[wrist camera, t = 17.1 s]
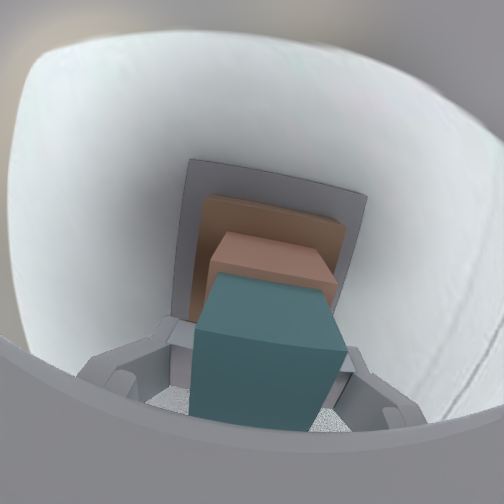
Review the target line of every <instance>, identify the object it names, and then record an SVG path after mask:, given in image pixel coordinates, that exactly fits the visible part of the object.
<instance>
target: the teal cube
mask: <svg viewBox="0 0 504 504" xmlns="http://www.w3.org/2000/svg"><path fill="white" fill-rule="evenodd" d="M347 353H348V349H347V347H346V345H345V342H344V340H343V338H342V335H341V333H340V331H339V328H338V326H337V324H336V322H335V319H334V317H333V315H332V312H331V310H330V308H329V306H328V304H327V301H326V299H325V297H324V295H323V292H322V290H318V289H312V288H306V287H300V286H294V285H289V284H283V283H277V282H271V281H266V280H260V279H255V278H249V277H244V276H238V275H233V274H228V273H222V272H218V275H217V277H216V279H215V282H214V284H213V286H212V289H211V291H210V293H209V296H208V298H207V300H206V303H205V305H204V308H203V310H202V312H201V315H200V317H199V319H198V322H197V324H196V327H195V331H194V343H193V355H192V368H191V382H190V398H189V416H193V417H198V418H202V419H207V420H212V421H217V422H223V423H229V424H235V425H242V426H249V427H256V428H265V429H275V430H287V431H305V432H308V431H309V429H310V427H311V426H312V424H313V422H314V420H315V418H316V417H317V415H318V413H319V411H320V409H321V407H322V405H323V403H324V402H325V400H326V398H327V396H328V394H329V392H330V390H331V388H332V386H333V384H334V382H335V379H336V377H337V375H338V373H339V371H340V369H341V367H342V364H343V362H344V360H345V358H346V356H347Z"/></svg>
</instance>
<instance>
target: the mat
mask: <svg viewBox="0 0 504 504" xmlns="http://www.w3.org/2000/svg"><path fill="white" fill-rule="evenodd" d="M212 194H219V195H225V196H230V197H236V198H241V199H246V200H252V201H257V202H262V203H267V204H272V205H277V206H282V207H286V208H291V209H296V210H300V211H305V212H310V213H314V214H318V215H323V216H327V217H331V218H334V219H336V220H337V221H339V222H340V223H342V224H343V225H344V226H346V227H347V228H346V232H345V236H344V240H343V243H342V247H341V251H340V254H339V258H338V261H337V265H336V268H335V272H334V275H333V276H334V278H335V279H336V281H337V283H338V287H337V290H336V293H335V296H334V299H333V302H332V305H331V308H330V310H331V312H332V315H333V314H334V311H335V308H336V305H337V302H338V299H339V296H340V293H341V290H342V287H343V284H344V281H345V278H346V275H347V271H348V268H349V265H350V261H351V258H352V255H353V251H354V248H355V244H356V240H357V237H358V233H359V229H360V225H361V221H362V217H363V213H364V209H365V205H366V201H367V197H368V196H365V195H362V194H358V193H355V192H351V191H347V190H343V189H340V188H336V187H332V186H328V185H324V184H320V183H316V182H311V181H307V180H303V179H298V178H294V177H289V176H285V175H280V174H275V173H270V172H265V171H260V170H255V169H250V168H244V167H238V166H233V165H227V164H220V163H214V162H208V161H201V160H194V159H189V163H188V169H187V175H186V181H185V187H184V194H183V201H182V208H181V215H180V223H179V231H178V239H177V248H176V257H175V268H174V279H173V291H172V305H171V316H172V317H176V318H179V319H184V320H188V318H189V307H190V298H191V289H192V280H193V271H194V263H195V256H196V248H197V241H198V233H199V227H200V220H201V213H202V207H203V201H204V198H205V197H207V196H209V195H212Z"/></svg>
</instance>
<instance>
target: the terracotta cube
mask: <svg viewBox="0 0 504 504" xmlns="http://www.w3.org/2000/svg"><path fill="white" fill-rule="evenodd" d="M218 272H222V273H228V274H233V275H238V276H244V277H249V278H255V279H260V280H266V281H271V282H277V283H283V284H289V285H294V286H300V287H306V288H312V289H318V290H322V292H323V295H324V297H325V299H326V301H327V304H328V306H329V308H331V305H332V302H333V299H334V296H335V293H336V290H337V287H338V283H337V281H336V279H335V278H334V276H333V275H332V273H331V271H330V270H329V268H328V267H327V265H326V264H325V262H324V260H323V259H322V257H321V256H320V254H319V253H318V251H317V250H316V249H314V248H309V247H305V246H300V245H295V244H290V243H285V242H280V241H275V240H270V239H265V238H259V237H254V236H249V235H244V234H239V233H234V232H228V231H227V232H226V234H225V236H224V237H223V239H222V241H221V242H220V244H219V246H218V247H217V249H216V251H215V252H214V254H213V256H212V258H211V259H210V265H209V271H208V278H207V286H206V293H205V300H204V305H205V303H206V300H207V298H208V296H209V293H210V291H211V289H212V286H213V284H214V282H215V279H216V277H217V275H218Z"/></svg>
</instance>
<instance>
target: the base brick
mask: <svg viewBox="0 0 504 504" xmlns="http://www.w3.org/2000/svg"><path fill="white" fill-rule="evenodd" d="M346 228H347V227H346V226H344V225H343V224H342V223H340V222H339V221H337V220H336V219H334V218H331V217H327V216H323V215H318V214H314V213H310V212H305V211H300V210H296V209H291V208H286V207H282V206H277V205H272V204H267V203H262V202H257V201H252V200H246V199H241V198H236V197H230V196H225V195H219V194H212V195H209V196H207V197H205V198H204V201H203V207H202V213H201V220H200V227H199V233H198V241H197V248H196V256H195V263H194V271H193V280H192V289H191V298H190V307H189V318H188V321H192V322H196V323H197V322H198V319H199V317H200V315H201V312H202V310H203V308H204V300H205V293H206V286H207V278H208V271H209V265H210V259H211V258H212V256H213V254H214V252H215V251H216V249H217V247H218V246H219V244H220V242H221V241H222V239H223V237H224V236H225V234H226V232H227V231H228V232H234V233H239V234H244V235H249V236H254V237H259V238H265V239H270V240H275V241H280V242H285V243H290V244H295V245H300V246H305V247H309V248H314V249H316V250H317V251H318V253H319V254H320V256H321V257H322V259H323V260H324V262H325V264H326V265H327V267H328V268H329V270H330V271H331V273H332V275H334V272H335V268H336V265H337V261H338V258H339V254H340V251H341V247H342V243H343V240H344V236H345V232H346Z"/></svg>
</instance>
